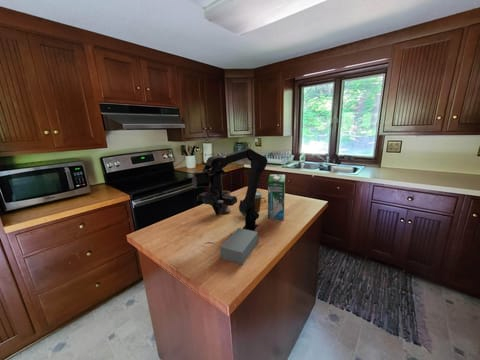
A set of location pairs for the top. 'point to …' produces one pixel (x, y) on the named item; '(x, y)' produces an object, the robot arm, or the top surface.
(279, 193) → the milk carton
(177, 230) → the top surface
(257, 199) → the disposable coffee cup
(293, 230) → the top surface
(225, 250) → the grey shelf
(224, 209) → the mortar and pestle
